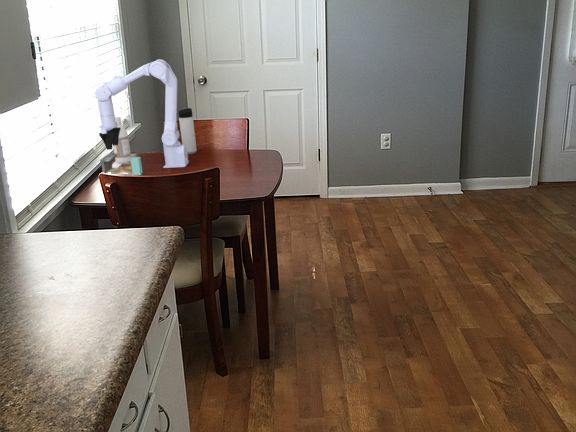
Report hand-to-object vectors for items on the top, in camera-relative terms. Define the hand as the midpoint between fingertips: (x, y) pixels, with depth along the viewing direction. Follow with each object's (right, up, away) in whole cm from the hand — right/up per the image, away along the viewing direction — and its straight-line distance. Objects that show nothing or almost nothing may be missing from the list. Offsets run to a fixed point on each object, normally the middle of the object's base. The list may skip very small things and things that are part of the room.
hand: (112, 147), depth 273 cm
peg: (+12, -12, -7) cm, 18 cm away
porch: (+4, -11, -2) cm, 12 cm away
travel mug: (+29, 0, +25) cm, 38 cm away
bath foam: (0, -5, +17) cm, 18 cm away
